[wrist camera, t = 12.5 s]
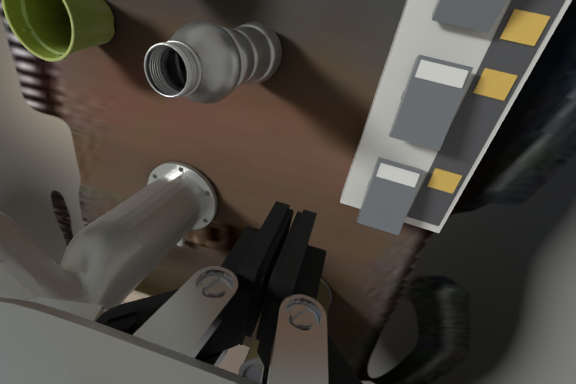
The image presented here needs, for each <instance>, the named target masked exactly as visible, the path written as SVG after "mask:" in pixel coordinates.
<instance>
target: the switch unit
mask: <svg viewBox="0 0 576 384" xmlns="http://www.w3.org/2000/svg"><path fill="white" fill-rule="evenodd" d="M437 1H438V0H407V1H406V4H405V7H404V10H403V13H402V16H401V19H400V22H399V25H398V28H397V31H396V34H395V37H394V40H393V42H392V45H391V48H390V51H389V54H388V57H387V60H386V63H385V66H384V69H383V72H382V75H381V78H380V81H379V84H378V87H377V90H376V93H375V96H374V99H373V102H372V105H371V108H370V111H369V114H368V117H367V120H366V123H365V126H364V129H363V132H362V135H361V138H360V141H359V144H358V147H357V150H356V152H355V155H354V158H353V161H352V164H351V167H350V170H349V173H348V176H347V179H346V182H345V185H344V188H343V192H342V196H341V200H340V203H343V204H346V205H350V206H353V207H356V208H359V209H360V208H361V205H362V202H363V199H364V197H365V194H366V191H367V188H368V185H369V182H370V179H371V176H372V174H373V171H374V168H375V165H376V162H377V159H378V157H380V158H384V159H387V160H391V161H394V162H398V163H401V164H405V165H408V166H412V167H415V168H419V169H421V170H423V171H424V172H423V175H422V177H421V180H420V182H419V185H418V187H417V190H416V192H415V195H414V198H413V200H412V203H411V205H410V208H409V210H408V213H407V215H406V218H405V220H404V223H407V224H411V225H414V226H417V227H420V228H423V229H427V230H430V231H433V232H437V233H439V232H440V230H441V229H442V227H443V225H444V224H445V222H446V220H447V218H448V217H449V215H450V213H451V211H452V210H453V208H454V206H455V204H456V203H457V201H458V199H459V197H460V196H461V194H462V192H463V190H464V189H465V187H466V185H467V183H468V182H469V180H470V178H471V176H472V175H473V173H474V171H475V169H476V168H477V166H478V164H479V162H480V161H481V159H482V157H483V155H484V154H485V152H486V150H487V148H488V147H489V145H490V143H491V141H492V140H493V138H494V136H495V134H496V133H497V131H498V129H499V127H500V125H501V124H502V122H503V120H504V118H505V117H506V115H507V113H508V111H509V110H510V108H511V106H512V104H513V103H514V101H515V99H516V97H517V96H518V94H519V92H520V90H521V89H522V87H523V85H524V83H525V82H526V80H527V78H528V76H529V75H530V73H531V71H532V69H533V68H534V66H535V64H536V62H537V61H538V59H539V57H540V55H541V54H542V52H543V50H544V48H545V47H546V45H547V43H548V41H549V40H550V38H551V36H552V34H553V33H554V31H555V29H556V27H557V26H558V24H559V22H560V20H561V19H562V17H563V15H564V13H565V11H566V10H567V8H568V6H569V4H570V3H571V1H572V0H507V1H506V3H505V5H504V6H503V8H502V10H501V12H500V13H499V15H498V17H497V18H496V20H495V22H494V24H493V25H492V27H491V29H490V31H489V32H488V33H487V32H482V31H478V30H473V29H469V28H464V27H460V26H455V25H451V24H446V23H442V22H437V21H433V20H432V13H433V11H434V8H435V6H436V4H437ZM418 55H423V56H427V57H432V58H436V59H440V60H444V61H448V62H453V63H457V64H461V65H465V66H469V67H473V70H472V72H471V75H470V77H469V80H468V82H467V84H466V87H465V89H464V92H463V94H462V97H461V99H460V102H459V104H458V107H457V109H456V112H455V114H454V117H453V119H452V122H451V124H450V126H449V129H448V131H447V134H446V136H445V139H444V141H443V144H442V146H441V149H440V151H439V150H435V149H432V148H428V147H424V146H421V145H417V144H414V143H410V142H406V141H403V140H399V139H395V138H392V137H389V133H390V130H391V128H392V125H393V122H394V119H395V116H396V113H397V111H398V108H399V105H400V102H401V99H402V96H403V93H404V91H405V88H406V85H407V82H408V79H409V76H410V74H411V71H412V68H413V65H414V62H415V59H416V57H417V56H418Z"/></svg>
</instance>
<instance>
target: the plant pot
mask: <svg viewBox="0 0 576 384" xmlns="http://www.w3.org/2000/svg"><path fill="white" fill-rule="evenodd" d="M2 6H3V10H4V13H5V16H6V19H7V21H8V23H9V25H10V27H11V29H12V31H13V33H14V34H15V36H16V37H17V39H18V40H19V41H20V42H21V43H22V44H23V46H24V47H25V48H26V49H27V50H29V51H30V52H31V53H33V54H34V55H35V56H37V57H39V58H41V59H43V60H46V61H60V60H63V59H65V58H66V57H67V56H68V55H69V54H71V53H73V52H74V51H77V50H81V49H85V48H89V47H93V46H97V45H101V44H105V43H108V42H109V41H110V40H111V39H112V38H113V36H114V33H115V29H114V16H113V13H112V11H111V9H110V7H109V6H108V4H107V3H106V2H105V1H104V0H2Z"/></svg>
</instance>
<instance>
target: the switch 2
mask: <svg viewBox="0 0 576 384" xmlns="http://www.w3.org/2000/svg"><path fill="white" fill-rule="evenodd" d="M472 70H473V67H469V66H465V65H461V64H457V63H453V62H448V61H444V60H440V59H436V58H432V57H427V56H423V55H418V56H417V57H416V59H415V62H414V65H413V68H412V71H411V74H410V76H409V79H408V82H407V85H406V88H405V91H404V93H403V96H402V99H401V102H400V105H399V108H398V111H397V113H396V116H395V119H394V122H393V125H392V128H391V130H390V133H389V137H392V138H395V139H399V140H403V141H406V142H410V143H414V144H417V145H421V146H424V147H428V148H432V149H435V150H439V151H440V149H441V146H442V144H443V141H444V139H445V136H446V134H447V131H448V129H449V126H450V124H451V122H452V119H453V117H454V114H455V112H456V109H457V107H458V104H459V102H460V99H461V97H462V94H463V92H464V89H465V87H466V84H467V82H468V80H469V77H470V75H471V72H472Z"/></svg>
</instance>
